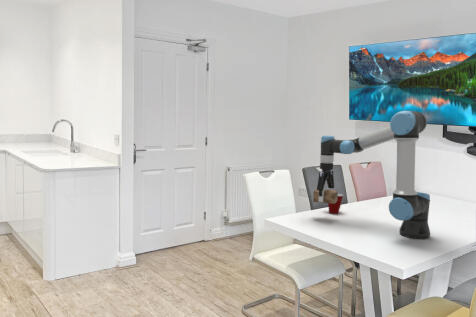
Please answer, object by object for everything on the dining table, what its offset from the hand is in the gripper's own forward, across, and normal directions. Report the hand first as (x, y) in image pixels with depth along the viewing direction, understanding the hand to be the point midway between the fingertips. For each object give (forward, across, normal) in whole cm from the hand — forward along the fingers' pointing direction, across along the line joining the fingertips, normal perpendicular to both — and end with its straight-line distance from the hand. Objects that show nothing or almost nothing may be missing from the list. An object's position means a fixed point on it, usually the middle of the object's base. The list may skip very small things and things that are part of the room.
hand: (325, 200), depth 258 cm
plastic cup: (+11, -20, -4) cm, 23 cm away
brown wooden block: (+1, 0, 0) cm, 1 cm away
